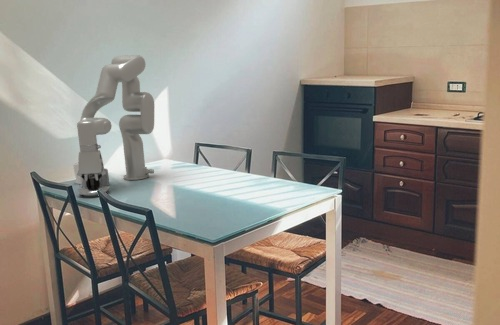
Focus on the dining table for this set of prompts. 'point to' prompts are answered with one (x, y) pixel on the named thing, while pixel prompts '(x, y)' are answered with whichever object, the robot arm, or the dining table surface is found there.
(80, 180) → the white cup
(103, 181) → the pot
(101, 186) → the lid
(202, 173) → the dining table surface
